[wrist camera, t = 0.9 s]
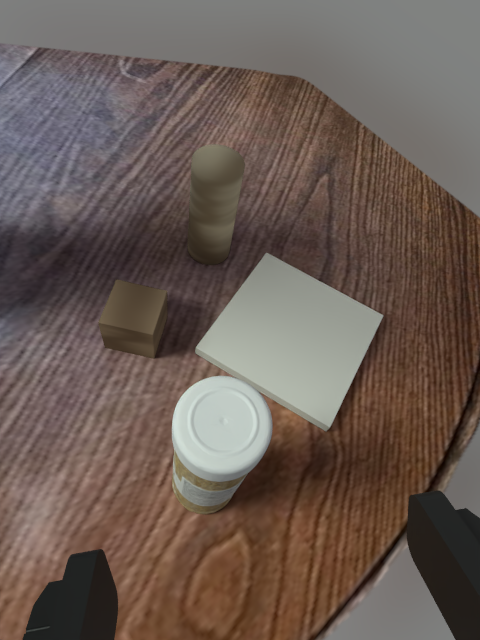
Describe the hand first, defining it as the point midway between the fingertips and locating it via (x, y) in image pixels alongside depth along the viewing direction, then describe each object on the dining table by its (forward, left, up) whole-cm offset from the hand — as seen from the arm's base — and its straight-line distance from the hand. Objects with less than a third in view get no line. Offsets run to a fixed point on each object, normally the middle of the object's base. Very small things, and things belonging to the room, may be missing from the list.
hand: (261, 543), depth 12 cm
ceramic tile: (-3, +18, -20) cm, 27 cm away
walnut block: (-14, +11, -20) cm, 27 cm away
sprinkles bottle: (-3, +4, -20) cm, 21 cm away
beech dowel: (-14, +22, -20) cm, 33 cm away
